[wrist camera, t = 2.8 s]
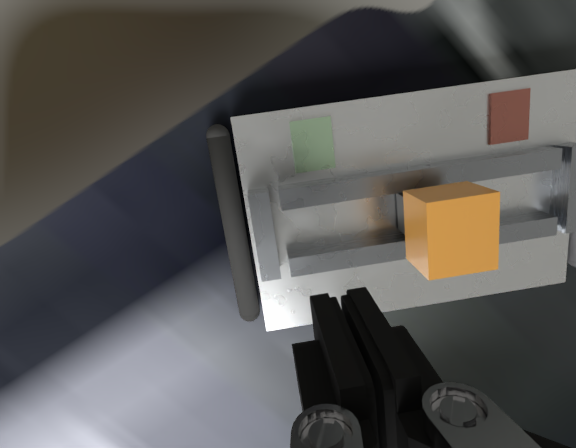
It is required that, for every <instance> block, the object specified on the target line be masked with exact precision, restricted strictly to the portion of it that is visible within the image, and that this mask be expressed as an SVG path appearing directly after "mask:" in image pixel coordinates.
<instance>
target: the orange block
mask: <svg viewBox="0 0 576 448" xmlns="http://www.w3.org/2000/svg"><path fill="white" fill-rule="evenodd" d="M396 198H397V216H398V230H399V231H400V232H402V233H403V234H404V235H405V246H406V259H407V260H408V261H409V262H410V263H411V264H412V265H413V266H414V267H415V268H416V269H417V270H418V271H419V272H420V273H421V274H422V275H423V276H424V277H426V278H427V279H428V280H435V279H442V278H448V277H454V276H460V275H466V274H473V273H479V272H485V271H491V270H497V269H498V263H499V222H500V192H499V191H496V190H493V189H490V188H487V187H484V186H481V185H478V184H475V183H472V182H469V181H464V182H457V183H450V184H444V185H437V186H430V187H424V188H417V189H411V190H404V191H403V193H397V194H396Z"/></svg>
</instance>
